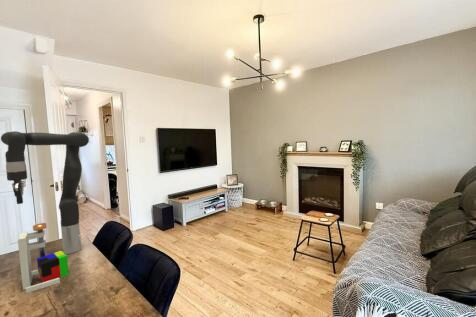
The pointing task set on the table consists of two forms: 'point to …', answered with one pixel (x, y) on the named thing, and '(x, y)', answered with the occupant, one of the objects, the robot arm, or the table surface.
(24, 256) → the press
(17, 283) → the table surface
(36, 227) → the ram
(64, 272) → the puzzle toy
